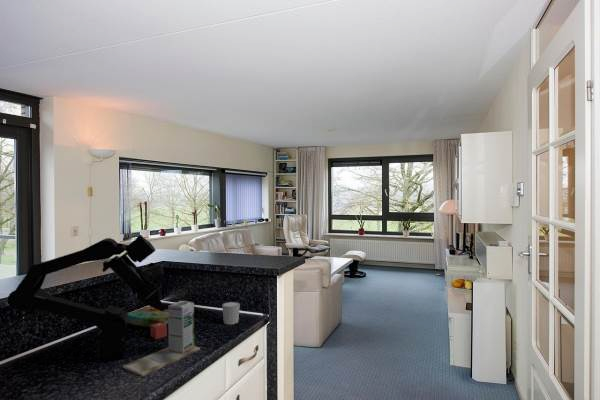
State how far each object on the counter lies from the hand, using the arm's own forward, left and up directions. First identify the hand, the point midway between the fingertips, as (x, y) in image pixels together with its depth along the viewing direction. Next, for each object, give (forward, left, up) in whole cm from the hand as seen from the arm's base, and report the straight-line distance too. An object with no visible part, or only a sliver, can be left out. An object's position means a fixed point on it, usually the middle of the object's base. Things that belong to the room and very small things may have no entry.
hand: (161, 307), depth 117 cm
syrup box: (+6, -3, -13) cm, 15 cm away
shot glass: (+27, +16, -14) cm, 35 cm away
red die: (0, +13, -14) cm, 19 cm away
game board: (0, -6, -14) cm, 15 cm away
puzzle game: (0, +28, -14) cm, 31 cm away
